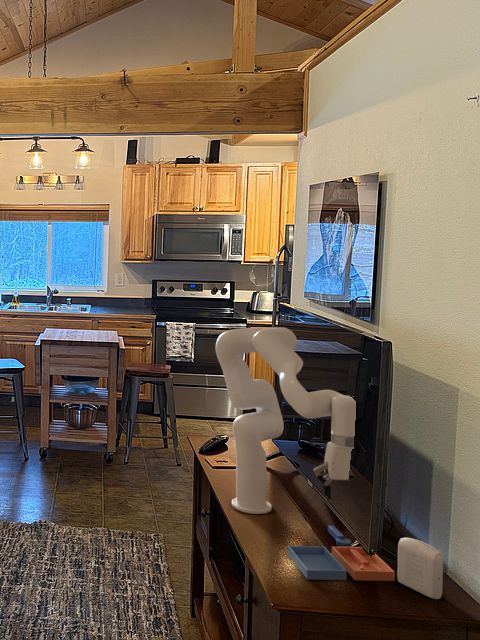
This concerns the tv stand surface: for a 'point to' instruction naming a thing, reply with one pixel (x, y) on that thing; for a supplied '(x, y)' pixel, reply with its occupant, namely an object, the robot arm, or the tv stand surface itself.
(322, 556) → the blue tray
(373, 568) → the terracotta spoon
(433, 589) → the photo printer
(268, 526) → the tv stand surface
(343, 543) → the blue spoon
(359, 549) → the terracotta tray
